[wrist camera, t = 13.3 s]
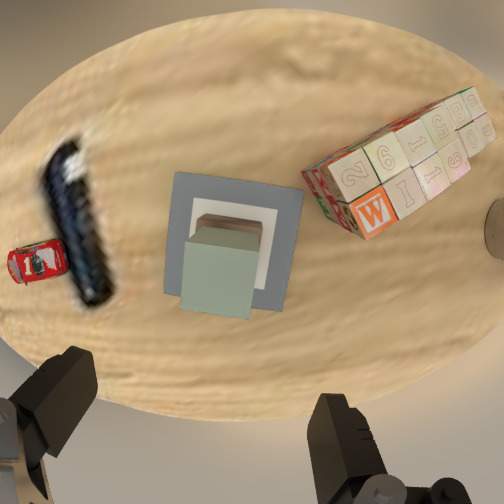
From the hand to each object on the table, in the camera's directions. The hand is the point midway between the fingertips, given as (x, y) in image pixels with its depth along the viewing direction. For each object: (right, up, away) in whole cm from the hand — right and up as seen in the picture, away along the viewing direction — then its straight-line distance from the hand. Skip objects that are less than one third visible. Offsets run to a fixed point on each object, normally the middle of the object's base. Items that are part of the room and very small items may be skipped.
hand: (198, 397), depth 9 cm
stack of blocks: (+18, +16, +21) cm, 32 cm away
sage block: (-1, +4, +18) cm, 18 cm away
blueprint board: (-1, +6, +24) cm, 24 cm away
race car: (-29, +4, +25) cm, 39 cm away
